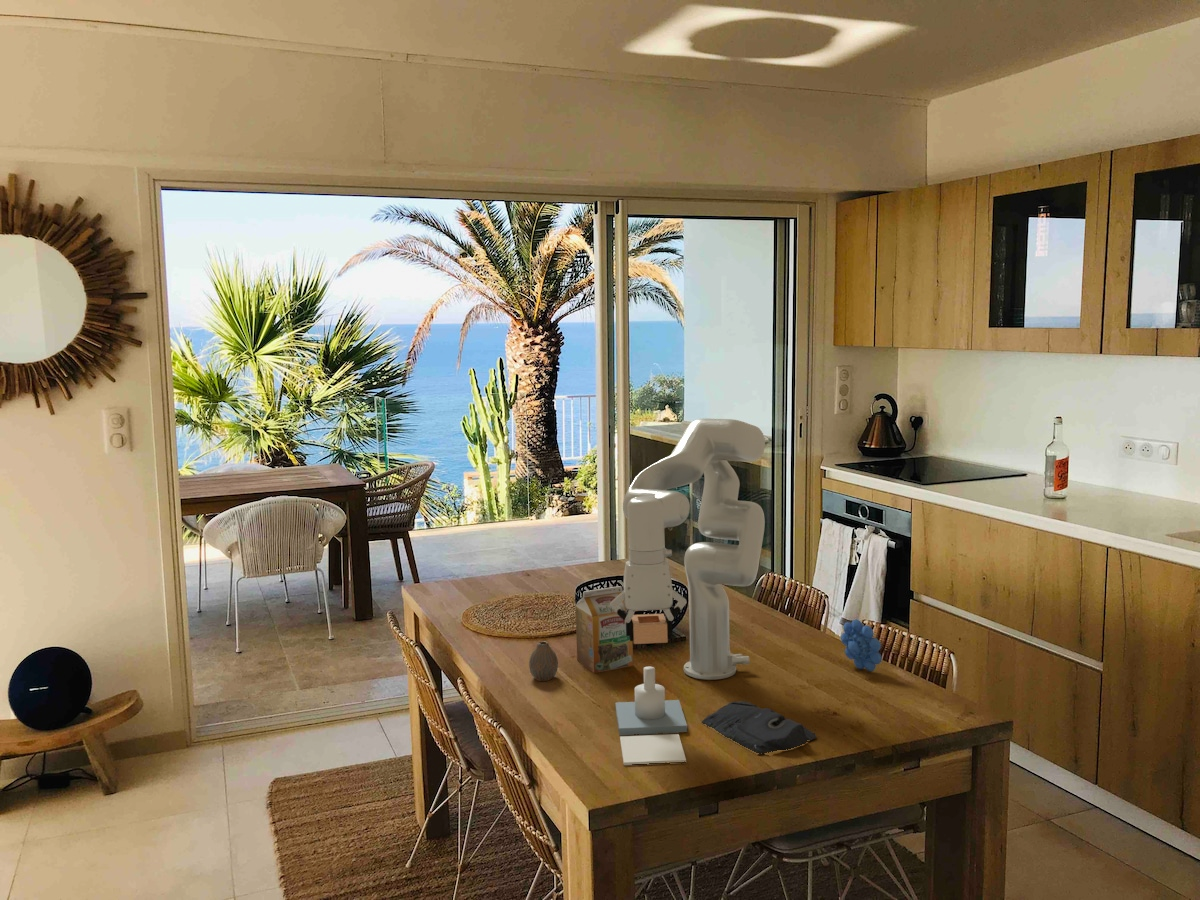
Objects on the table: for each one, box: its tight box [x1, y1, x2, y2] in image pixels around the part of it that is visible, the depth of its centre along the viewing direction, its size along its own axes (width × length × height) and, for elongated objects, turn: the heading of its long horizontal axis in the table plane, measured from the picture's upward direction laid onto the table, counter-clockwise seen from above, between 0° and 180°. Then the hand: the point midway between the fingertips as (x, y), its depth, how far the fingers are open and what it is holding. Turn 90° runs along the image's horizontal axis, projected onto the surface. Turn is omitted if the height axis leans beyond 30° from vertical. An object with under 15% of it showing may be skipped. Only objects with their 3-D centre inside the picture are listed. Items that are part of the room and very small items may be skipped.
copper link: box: [632, 613, 669, 645], centre depth 209 cm, size 7×7×4 cm
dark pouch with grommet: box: [701, 700, 817, 754], centre depth 204 cm, size 15×22×5 cm
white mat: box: [619, 733, 687, 766], centre depth 196 cm, size 12×12×1 cm
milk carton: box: [575, 585, 634, 674], centre depth 246 cm, size 11×11×19 cm
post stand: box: [614, 666, 688, 736], centre depth 211 cm, size 14×14×12 cm
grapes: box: [840, 618, 883, 672], centre depth 237 cm, size 12×7×12 cm, turn 37°
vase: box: [528, 640, 559, 682], centre depth 238 cm, size 7×7×9 cm
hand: (649, 637), depth 209 cm, fingers closed on copper link, 7 cm apart
